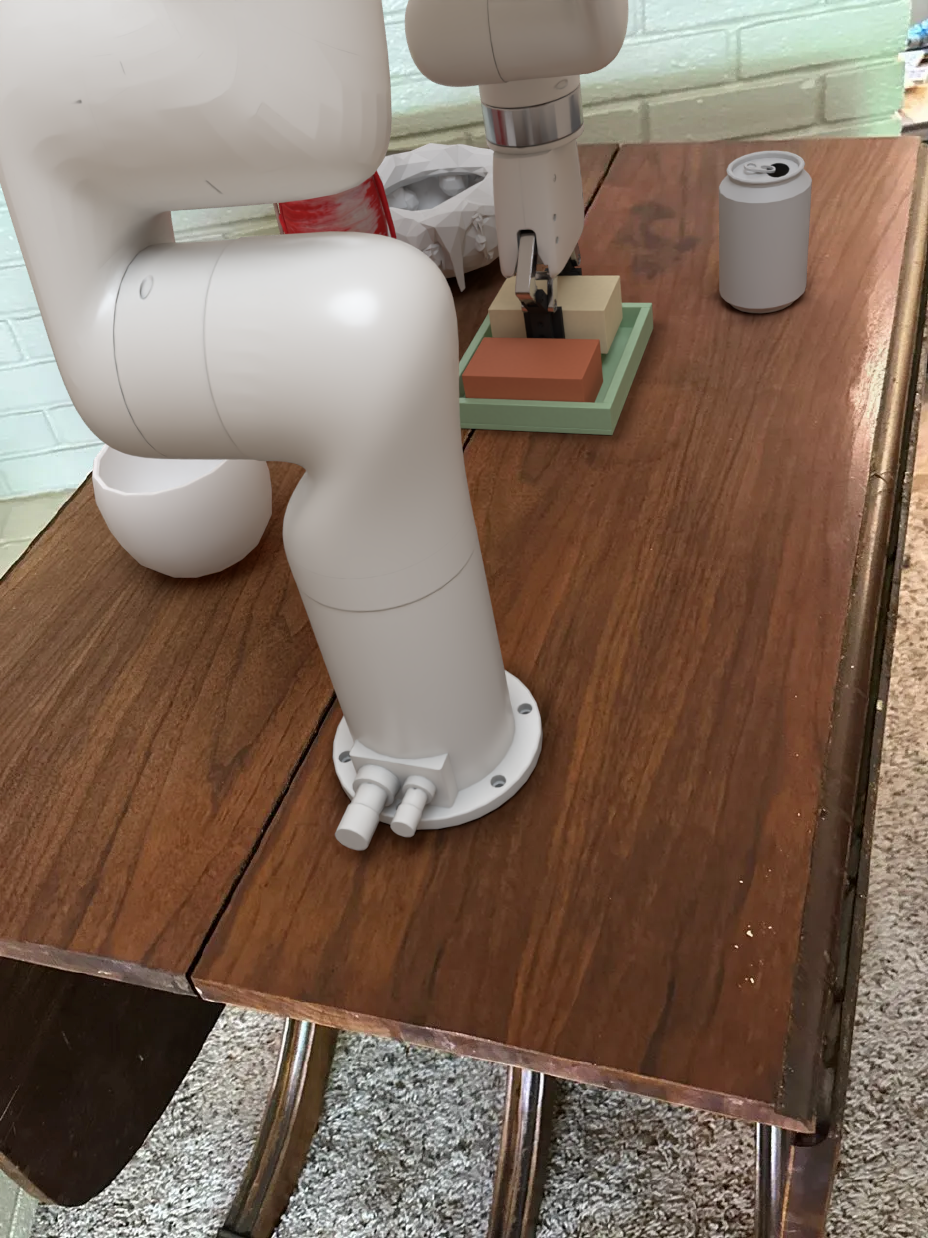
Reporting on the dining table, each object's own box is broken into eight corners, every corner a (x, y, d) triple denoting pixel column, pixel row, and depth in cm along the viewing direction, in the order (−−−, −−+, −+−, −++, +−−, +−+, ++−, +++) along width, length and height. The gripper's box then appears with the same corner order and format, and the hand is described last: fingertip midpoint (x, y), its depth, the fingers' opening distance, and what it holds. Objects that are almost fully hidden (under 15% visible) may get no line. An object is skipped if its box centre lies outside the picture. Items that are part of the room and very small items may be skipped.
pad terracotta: (586, 422, 87) (582, 378, 84) (469, 417, 90) (461, 375, 87) (603, 381, 90) (599, 338, 88) (490, 378, 94) (483, 336, 91)
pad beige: (607, 353, 91) (604, 310, 88) (494, 351, 94) (487, 309, 91) (623, 317, 95) (620, 275, 92) (513, 316, 98) (508, 275, 95)
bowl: (307, 285, 114) (280, 191, 108) (449, 209, 123) (433, 117, 116) (434, 338, 102) (413, 235, 95) (583, 248, 110) (573, 149, 103)
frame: (612, 435, 86) (610, 408, 84) (440, 427, 90) (435, 401, 89) (653, 328, 96) (652, 302, 95) (498, 326, 101) (494, 301, 100)
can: (806, 315, 94) (814, 177, 86) (717, 319, 96) (717, 185, 88) (804, 274, 99) (811, 140, 91) (720, 279, 101) (720, 149, 93)
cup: (121, 538, 86) (72, 437, 80) (266, 483, 89) (230, 381, 82) (149, 629, 78) (97, 524, 71) (310, 565, 80) (273, 458, 73)
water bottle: (289, 435, 93) (192, 140, 77) (318, 384, 99) (234, 99, 82) (421, 434, 90) (351, 126, 73) (444, 382, 96) (383, 84, 79)
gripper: (517, 78, 89) (542, 283, 101) (450, 163, 77) (487, 383, 90) (607, 72, 86) (621, 283, 98) (551, 159, 75) (575, 385, 87)
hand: (557, 328), depth 94 cm, fingers closed on pad beige, 5 cm apart
